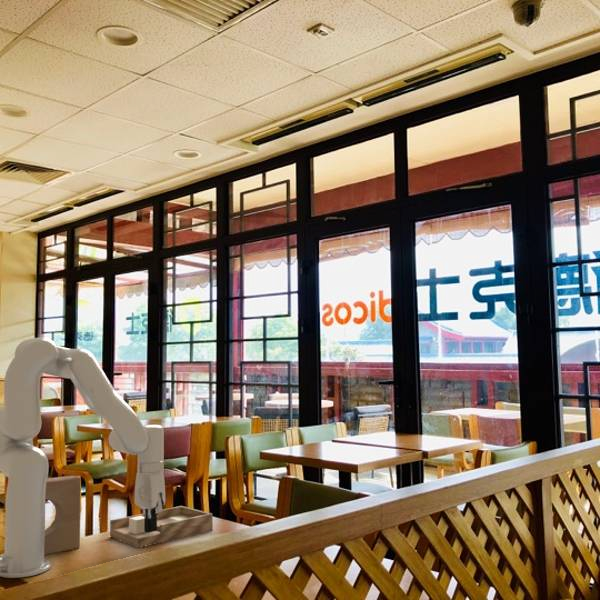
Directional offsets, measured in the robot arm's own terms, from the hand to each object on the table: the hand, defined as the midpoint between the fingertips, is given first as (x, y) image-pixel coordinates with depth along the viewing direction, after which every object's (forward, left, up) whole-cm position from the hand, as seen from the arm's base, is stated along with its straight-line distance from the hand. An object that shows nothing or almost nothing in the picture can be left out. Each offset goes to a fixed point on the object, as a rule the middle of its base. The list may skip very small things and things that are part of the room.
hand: (150, 531), depth 190 cm
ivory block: (0, +7, -1) cm, 7 cm away
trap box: (+9, +8, -4) cm, 12 cm away
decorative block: (-21, +15, -4) cm, 26 cm away
